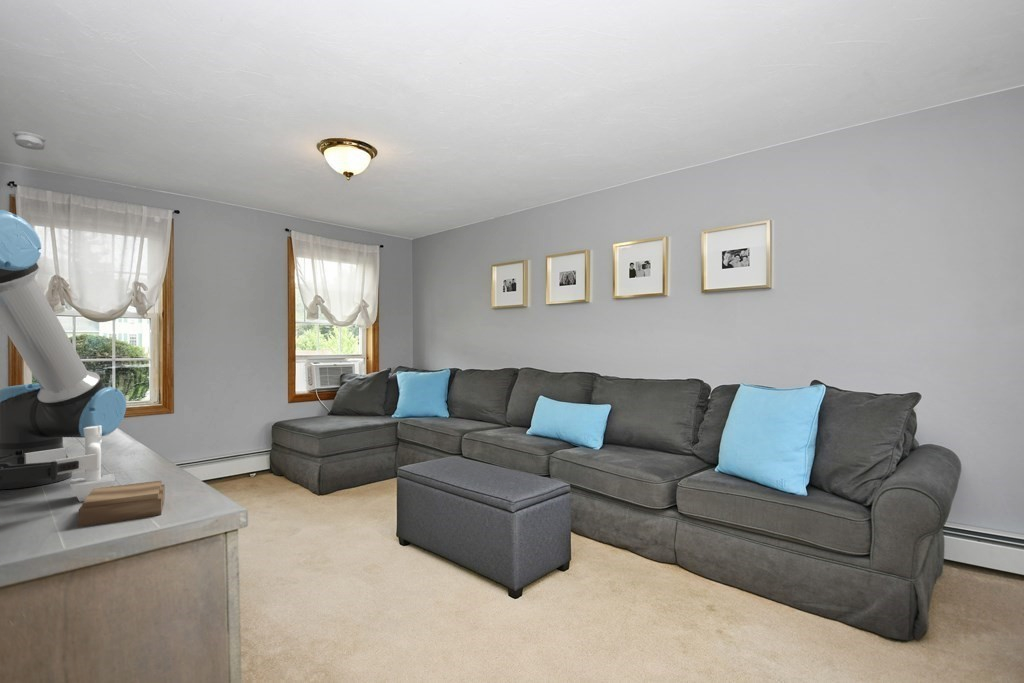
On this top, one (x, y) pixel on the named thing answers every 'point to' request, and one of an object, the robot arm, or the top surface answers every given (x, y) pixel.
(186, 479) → the top surface
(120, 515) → the plinth
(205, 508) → the top surface
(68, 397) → the robot arm
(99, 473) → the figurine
